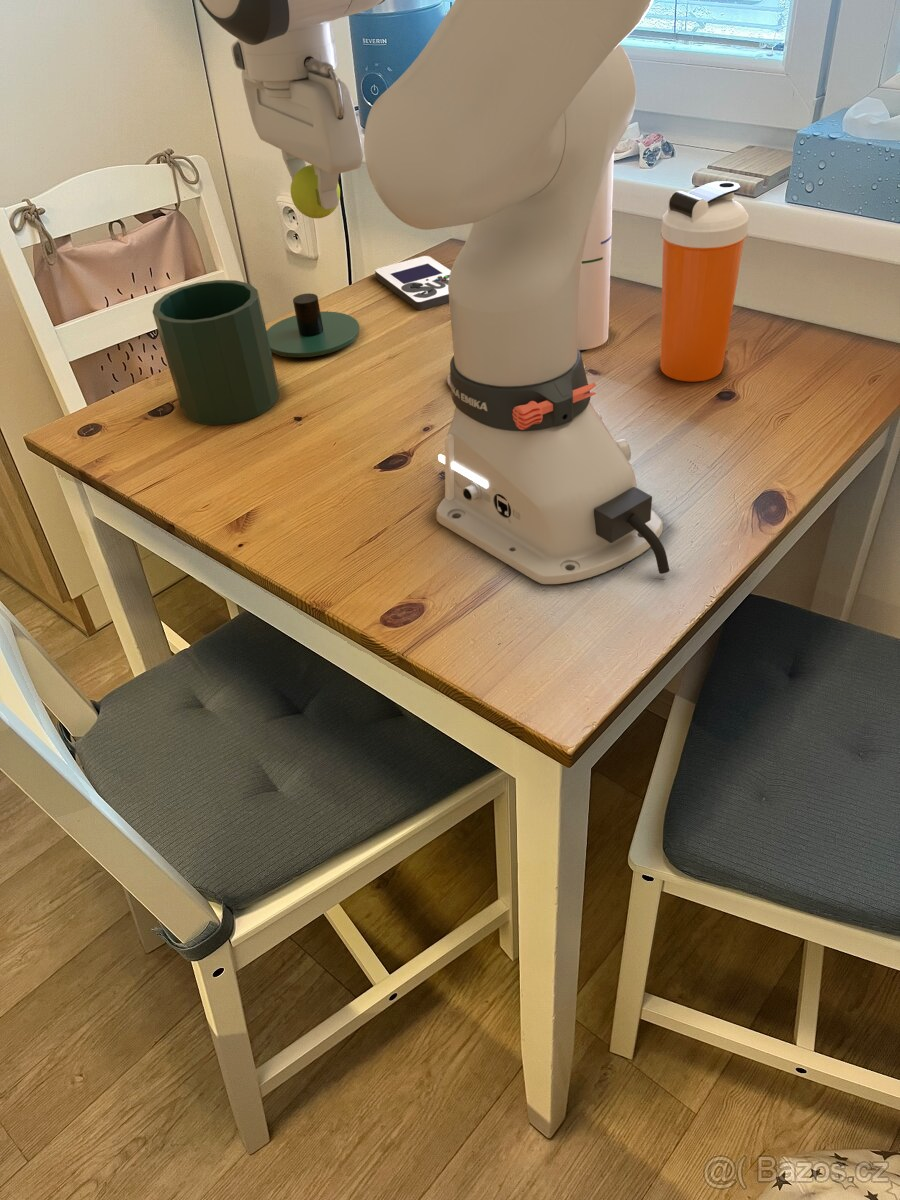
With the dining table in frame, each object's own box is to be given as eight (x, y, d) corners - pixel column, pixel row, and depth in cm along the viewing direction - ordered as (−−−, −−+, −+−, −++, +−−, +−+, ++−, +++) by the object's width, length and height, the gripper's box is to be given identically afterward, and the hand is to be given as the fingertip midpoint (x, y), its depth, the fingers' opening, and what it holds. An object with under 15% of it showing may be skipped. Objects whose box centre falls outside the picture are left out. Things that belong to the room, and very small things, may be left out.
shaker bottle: (747, 367, 108) (771, 187, 96) (694, 394, 105) (712, 210, 92) (688, 344, 114) (703, 171, 101) (636, 368, 110) (645, 192, 98)
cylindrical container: (619, 333, 118) (628, 116, 102) (586, 354, 114) (590, 133, 98) (573, 320, 122) (574, 109, 106) (539, 341, 118) (535, 125, 102)
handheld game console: (428, 262, 141) (427, 253, 140) (475, 294, 131) (474, 285, 130) (374, 277, 139) (373, 268, 138) (418, 311, 128) (417, 301, 127)
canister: (294, 404, 111) (272, 302, 102) (201, 435, 107) (171, 332, 98) (258, 369, 118) (235, 271, 110) (170, 397, 114) (140, 298, 106)
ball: (351, 216, 100) (344, 165, 96) (307, 229, 98) (297, 176, 95) (331, 205, 103) (323, 155, 100) (288, 217, 102) (278, 166, 98)
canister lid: (376, 342, 122) (370, 300, 118) (287, 371, 117) (278, 328, 114) (335, 311, 130) (328, 271, 127) (251, 337, 126) (241, 296, 122)
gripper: (367, 58, 85) (387, 215, 93) (280, 35, 99) (305, 173, 108) (303, 72, 82) (330, 231, 91) (224, 46, 97) (254, 186, 105)
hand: (316, 200), depth 100 cm, fingers closed on ball, 5 cm apart
